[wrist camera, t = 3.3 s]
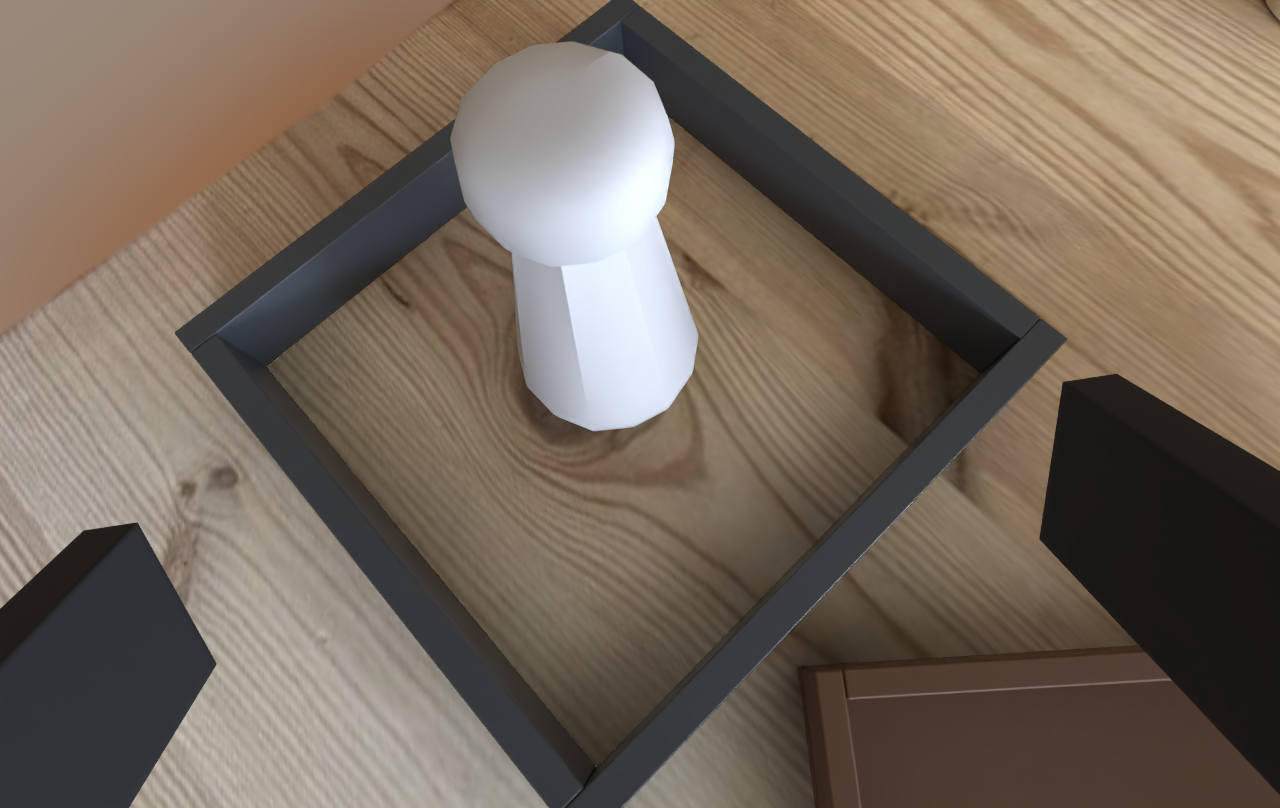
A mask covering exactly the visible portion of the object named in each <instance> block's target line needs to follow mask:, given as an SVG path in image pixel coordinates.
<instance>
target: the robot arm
mask: <svg viewBox="0 0 1280 808" xmlns="http://www.w3.org/2000/svg"><path fill="white" fill-rule="evenodd" d="M1040 540H1041V541H1042V542H1043V543H1044V545H1045V546H1046V547H1047V548H1048V549H1049V550H1050V551H1051V552H1052V553H1053V554H1054V555H1055V556H1056V557H1057V558H1058V559H1059V561H1060V562H1061V563H1062V564H1063V565H1064V566H1065V567H1066V568H1067V569H1068V570H1069V571H1070V572H1071V573H1072V574H1073V575H1074V576H1075V578H1076V579H1077V580H1078V581H1079V582H1080V583H1081V584H1082V585H1083V586H1084V587H1085V588H1086V589H1087V590H1088V591H1089V592H1090V594H1091V595H1092V596H1093V597H1094V598H1095V599H1096V600H1097V601H1098V602H1099V603H1100V604H1101V605H1102V606H1103V607H1104V608H1105V610H1106V611H1107V612H1108V613H1109V614H1110V615H1111V616H1112V617H1113V618H1114V619H1115V620H1116V621H1117V622H1118V623H1119V624H1120V626H1121V627H1122V628H1123V629H1124V630H1125V631H1126V632H1127V633H1128V634H1129V635H1130V636H1131V637H1132V638H1133V639H1134V640H1135V641H1136V643H1137V644H1138V645H1139V646H1140V647H1141V648H1142V649H1143V650H1144V651H1145V652H1146V653H1147V654H1148V655H1149V656H1150V657H1151V659H1152V660H1153V661H1154V662H1155V663H1156V664H1157V665H1158V666H1159V667H1160V668H1161V669H1162V670H1163V671H1164V672H1165V673H1166V675H1167V676H1168V677H1169V678H1170V679H1171V680H1172V681H1173V682H1174V683H1175V684H1176V685H1177V686H1178V687H1179V688H1180V689H1181V690H1182V692H1183V693H1184V694H1185V695H1186V696H1187V697H1188V698H1189V699H1190V700H1191V701H1192V702H1193V703H1194V704H1195V705H1196V706H1197V708H1198V709H1199V710H1200V711H1201V712H1202V713H1203V714H1204V715H1205V716H1206V717H1207V718H1208V719H1209V720H1210V721H1211V722H1212V724H1213V725H1214V726H1215V727H1216V728H1217V729H1218V730H1219V731H1220V732H1221V733H1222V734H1223V735H1224V736H1225V737H1226V738H1227V740H1228V741H1229V742H1230V743H1231V744H1232V745H1233V746H1234V747H1235V748H1236V749H1237V750H1238V751H1239V752H1240V753H1241V754H1242V755H1243V757H1244V758H1245V759H1246V760H1247V761H1248V762H1249V763H1250V764H1251V765H1252V766H1253V767H1254V768H1255V769H1256V770H1257V771H1258V773H1259V774H1260V775H1261V776H1262V777H1263V778H1264V779H1265V780H1266V781H1267V782H1268V783H1269V784H1270V785H1271V786H1272V787H1273V789H1274V790H1275V791H1276V792H1277V793H1278V794H1279V795H1280V471H1279V470H1277V469H1275V468H1274V467H1272V466H1270V465H1269V464H1267V463H1265V462H1264V461H1262V460H1260V459H1259V458H1257V457H1255V456H1254V455H1252V454H1250V453H1249V452H1247V451H1245V450H1244V449H1242V448H1240V447H1238V446H1237V445H1235V444H1233V443H1232V442H1230V441H1228V440H1227V439H1225V438H1223V437H1222V436H1220V435H1218V434H1217V433H1215V432H1213V431H1212V430H1210V429H1208V428H1207V427H1205V426H1203V425H1202V424H1200V423H1198V422H1197V421H1195V420H1193V419H1192V418H1190V417H1188V416H1187V415H1185V414H1183V413H1182V412H1180V411H1178V410H1177V409H1175V408H1173V407H1172V406H1170V405H1168V404H1167V403H1165V402H1163V401H1161V400H1160V399H1158V398H1156V397H1155V396H1153V395H1151V394H1150V393H1148V392H1146V391H1145V390H1143V389H1141V388H1140V387H1138V386H1136V385H1135V384H1133V383H1131V382H1130V381H1128V380H1126V379H1125V378H1123V377H1121V376H1120V375H1118V374H1113V375H1106V376H1099V377H1093V378H1086V379H1080V380H1073V381H1066V382H1063V384H1062V391H1061V398H1060V405H1059V411H1058V418H1057V425H1056V431H1055V438H1054V445H1053V452H1052V458H1051V465H1050V472H1049V478H1048V485H1047V492H1046V499H1045V505H1044V512H1043V519H1042V525H1041V532H1040ZM215 666H216V662H215V660H214V658H213V656H212V655H211V653H210V651H209V649H208V648H207V646H206V644H205V642H204V640H203V639H202V637H201V635H200V633H199V631H198V630H197V628H196V626H195V624H194V623H193V621H192V619H191V617H190V615H189V614H188V612H187V610H186V608H185V606H184V605H183V603H182V601H181V599H180V598H179V596H178V594H177V592H176V590H175V589H174V587H173V585H172V583H171V581H170V580H169V578H168V576H167V574H166V572H165V571H164V569H163V567H162V565H161V564H160V562H159V560H158V558H157V556H156V555H155V553H154V551H153V549H152V547H151V546H150V544H149V542H148V540H147V539H146V537H145V535H144V533H143V531H142V530H141V528H140V526H139V524H138V522H137V523H131V524H124V525H118V526H111V527H104V528H98V529H91V530H85V531H83V532H82V533H81V534H79V535H78V536H77V537H76V538H75V539H74V540H73V541H72V542H71V543H70V544H69V545H68V546H67V547H66V548H65V549H63V550H62V551H61V552H60V553H59V554H58V555H57V556H56V557H55V558H54V559H53V560H52V561H51V562H50V563H49V564H47V565H46V566H45V567H44V568H43V569H42V570H41V571H40V572H39V573H38V574H37V575H36V576H35V577H34V578H33V579H32V580H30V581H29V582H28V583H27V584H26V585H25V586H24V587H23V588H22V589H21V590H20V591H19V592H18V593H17V594H16V595H14V596H13V597H12V598H11V599H10V600H9V601H8V602H7V603H6V604H5V605H4V606H3V607H2V608H1V609H0V808H129V807H130V805H131V803H132V802H133V800H134V799H135V797H136V795H137V794H138V792H139V790H140V789H141V787H142V785H143V784H144V782H145V781H146V779H147V777H148V776H149V774H150V772H151V771H152V769H153V767H154V766H155V764H156V763H157V761H158V759H159V758H160V756H161V754H162V753H163V751H164V749H165V748H166V746H167V745H168V743H169V741H170V740H171V738H172V736H173V735H174V733H175V731H176V730H177V728H178V727H179V725H180V723H181V722H182V720H183V718H184V717H185V715H186V713H187V712H188V710H189V709H190V707H191V705H192V704H193V702H194V700H195V699H196V697H197V695H198V694H199V692H200V691H201V689H202V687H203V686H204V684H205V682H206V681H207V679H208V677H209V676H210V674H211V673H212V671H213V669H214V668H215Z"/></svg>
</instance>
